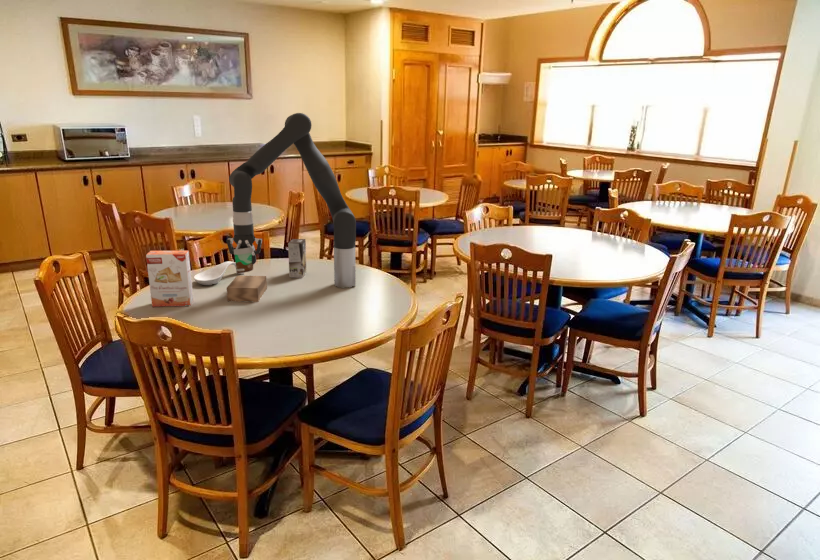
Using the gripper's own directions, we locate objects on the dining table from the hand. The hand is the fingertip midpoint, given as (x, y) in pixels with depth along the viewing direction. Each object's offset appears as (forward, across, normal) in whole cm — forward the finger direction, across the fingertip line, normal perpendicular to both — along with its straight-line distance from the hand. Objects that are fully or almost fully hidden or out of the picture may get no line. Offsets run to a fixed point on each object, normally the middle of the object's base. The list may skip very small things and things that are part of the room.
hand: (246, 263), depth 216 cm
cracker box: (+13, +26, +11) cm, 31 cm away
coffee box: (+13, -17, -28) cm, 35 cm away
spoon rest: (+14, +16, -20) cm, 29 cm away
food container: (+3, -1, 0) cm, 3 cm away
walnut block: (+14, 0, 0) cm, 14 cm away
